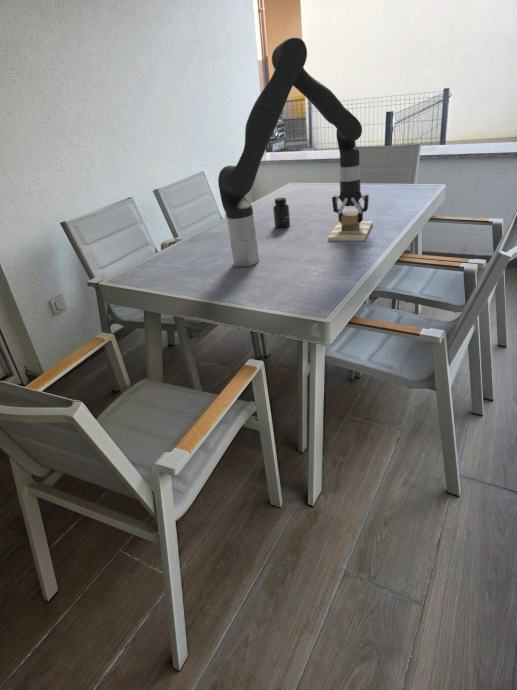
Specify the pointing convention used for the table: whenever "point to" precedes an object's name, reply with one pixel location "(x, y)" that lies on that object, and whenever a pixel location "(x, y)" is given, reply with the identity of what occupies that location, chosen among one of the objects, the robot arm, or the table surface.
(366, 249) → the table surface
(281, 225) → the supplement bottle
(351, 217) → the walnut block
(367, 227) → the birch board
